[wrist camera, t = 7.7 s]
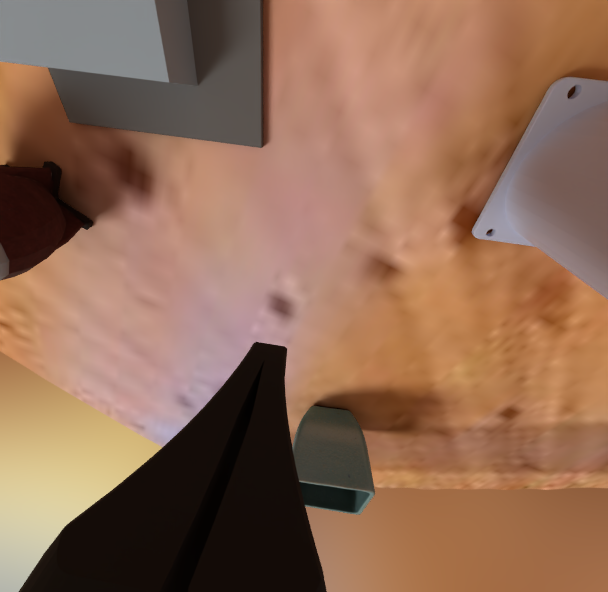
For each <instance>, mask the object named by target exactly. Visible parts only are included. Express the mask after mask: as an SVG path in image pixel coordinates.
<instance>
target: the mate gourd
mask: <svg viewBox="0 0 608 592" xmlns="http://www.w3.org/2000/svg"><path fill="white" fill-rule="evenodd" d="M60 178H61V168H60V167H59V166H58V165H56V164H55V163H53V162H51V161H50V162H44V165H43V168H31V167H10V166H8V165H0V280H3V279H7V278H11V277H15V276H17V275H20V274H22V273H24V272H27V271H28V270H30V269H31V268H33V267H34V266H36V265H37V264H39V263H40V262H42V261H43V260H45V259H46V258H48V257H49V256H50V255H51V254H52V253H53V252H54V251H55V250H56V249H58V248H59V247H61V246H62V245H64V244H66V243H67V242H68V241H69V240H70V239H71V238H72V237H73V236H74V235H75V234H76V233H77V232H78V231H79V230H80V229H81V228H84V229H86V230H88V229H89V228H90V227H92V224H93V222H92V220H90V219H89V218H87V217H86V216H84V215H83V214H81V213H80V212H78V211H77V210H75V209H74V208H72V207H71V206H69V205H68V204H66V203H65V202H63V201H62V200H61V199H59V197H58V190H59V184H60Z"/></svg>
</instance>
